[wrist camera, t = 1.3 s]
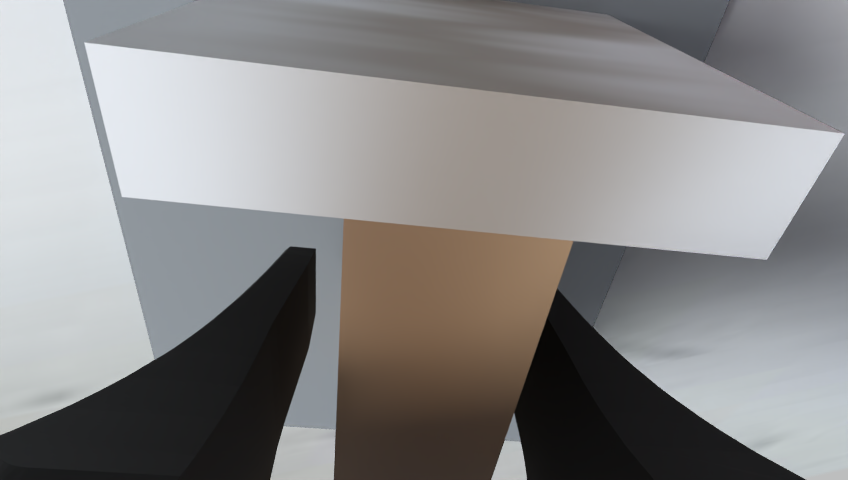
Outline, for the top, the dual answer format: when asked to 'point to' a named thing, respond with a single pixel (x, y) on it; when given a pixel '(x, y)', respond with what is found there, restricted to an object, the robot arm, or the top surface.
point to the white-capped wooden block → (448, 178)
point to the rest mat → (311, 216)
